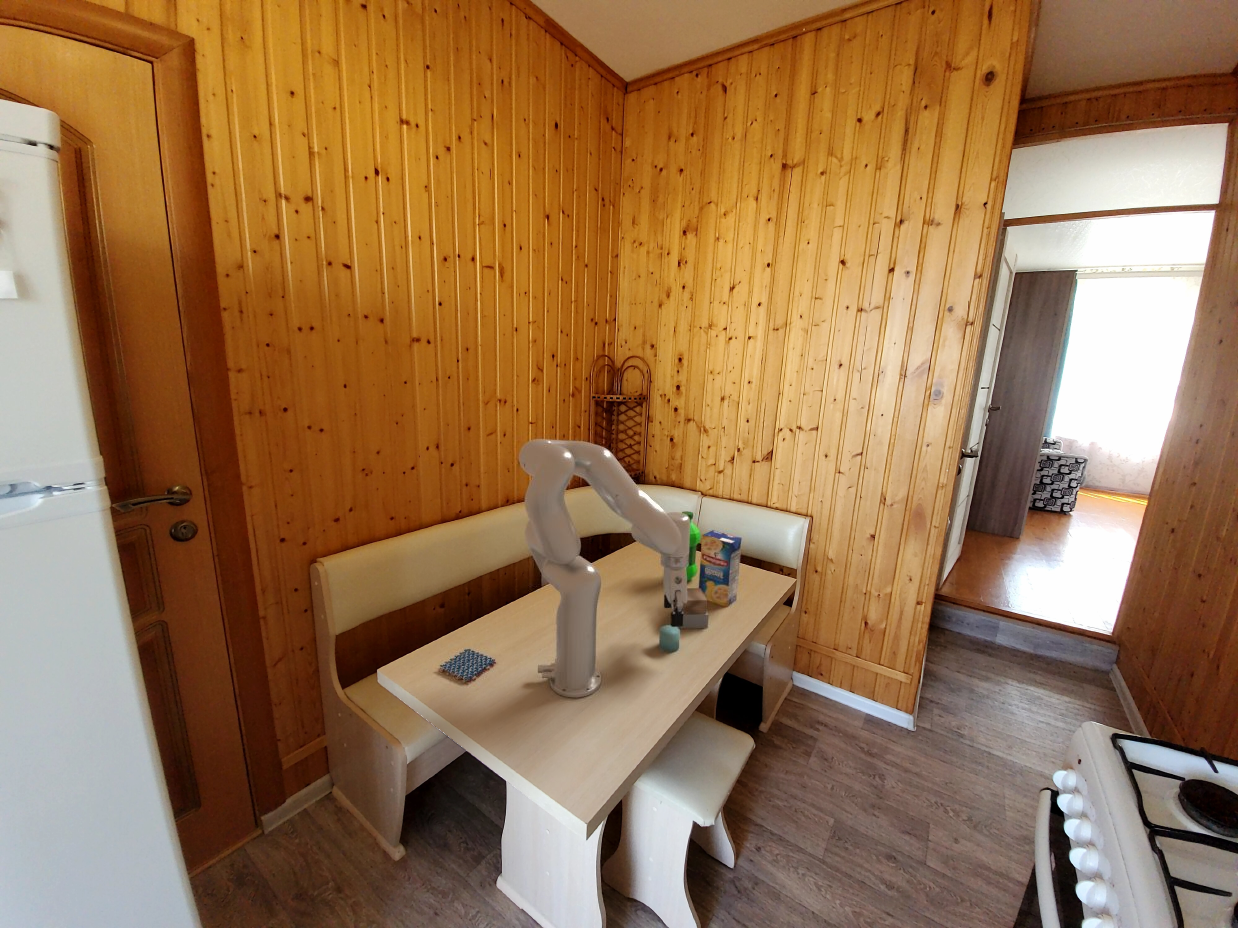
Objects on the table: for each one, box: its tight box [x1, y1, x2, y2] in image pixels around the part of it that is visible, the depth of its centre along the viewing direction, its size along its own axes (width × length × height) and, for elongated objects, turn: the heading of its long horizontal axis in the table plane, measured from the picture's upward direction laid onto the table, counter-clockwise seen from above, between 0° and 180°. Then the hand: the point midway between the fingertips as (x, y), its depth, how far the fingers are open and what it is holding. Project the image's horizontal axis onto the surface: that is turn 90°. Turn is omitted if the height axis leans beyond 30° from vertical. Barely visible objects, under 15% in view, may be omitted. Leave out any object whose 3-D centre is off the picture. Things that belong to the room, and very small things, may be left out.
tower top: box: [676, 587, 708, 614], centre depth 150 cm, size 8×8×4 cm
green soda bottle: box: [681, 510, 702, 582], centre depth 179 cm, size 10×10×25 cm
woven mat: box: [439, 648, 497, 685], centre depth 125 cm, size 10×11×2 cm
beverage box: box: [698, 529, 742, 608], centre depth 165 cm, size 7×11×22 cm, turn 50°
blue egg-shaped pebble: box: [658, 624, 681, 653], centre depth 137 cm, size 6×6×5 cm
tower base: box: [675, 604, 710, 629], centre depth 151 cm, size 9×9×4 cm
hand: (673, 616), depth 136 cm, fingers open, 9 cm apart
